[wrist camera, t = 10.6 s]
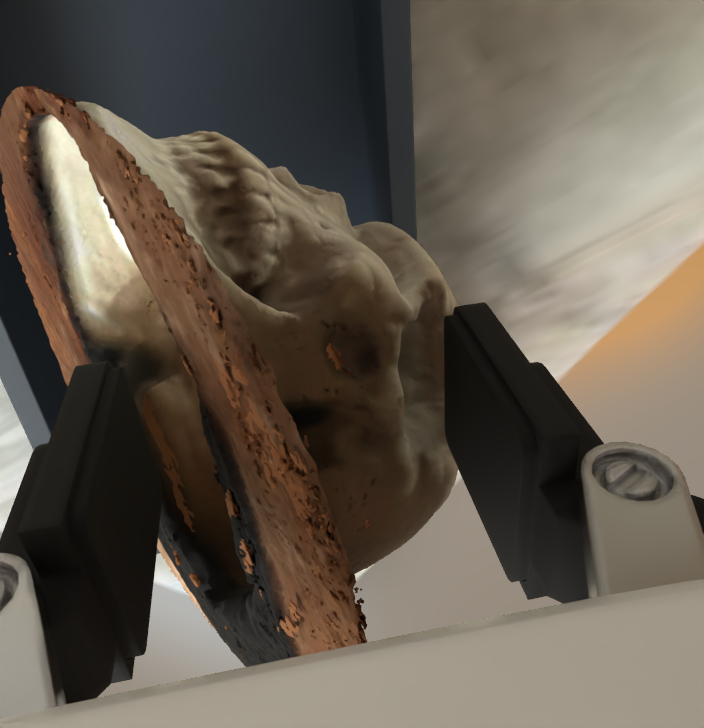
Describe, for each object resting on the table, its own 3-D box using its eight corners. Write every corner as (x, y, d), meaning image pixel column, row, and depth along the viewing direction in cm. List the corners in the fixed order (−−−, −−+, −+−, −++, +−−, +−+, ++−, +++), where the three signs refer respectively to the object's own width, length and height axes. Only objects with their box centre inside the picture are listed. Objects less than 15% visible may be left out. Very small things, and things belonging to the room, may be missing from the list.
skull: (273, -58, 5) (388, -27, 14) (-583, 276, 7) (-17, 120, 16) (547, 840, 10) (501, 439, 19) (-7, 846, 13) (182, 492, 21)
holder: (-109, -75, 16) (-212, -81, 12) (365, -119, 17) (406, -136, 13) (106, 476, 26) (86, 567, 22) (397, 426, 27) (425, 505, 24)
